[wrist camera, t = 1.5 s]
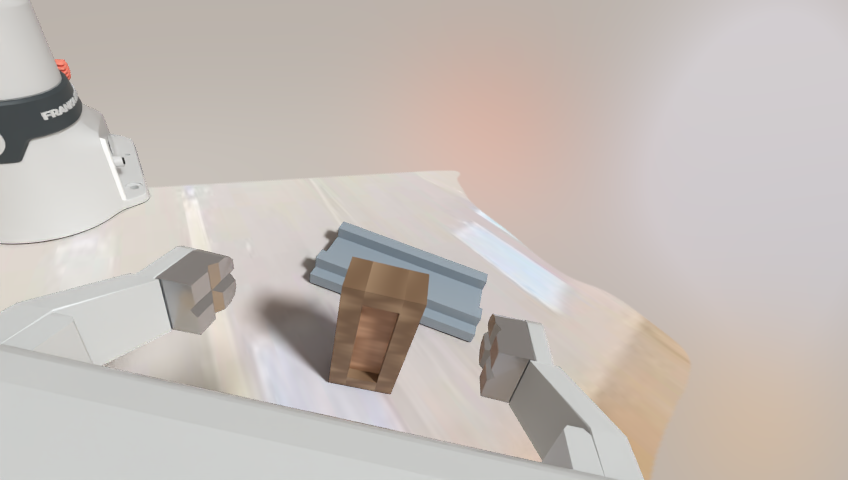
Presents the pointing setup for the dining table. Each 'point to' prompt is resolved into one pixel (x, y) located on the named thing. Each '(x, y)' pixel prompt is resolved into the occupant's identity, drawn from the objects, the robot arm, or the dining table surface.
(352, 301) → the frame
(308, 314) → the dining table surface
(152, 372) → the dining table surface
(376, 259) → the picture stand
